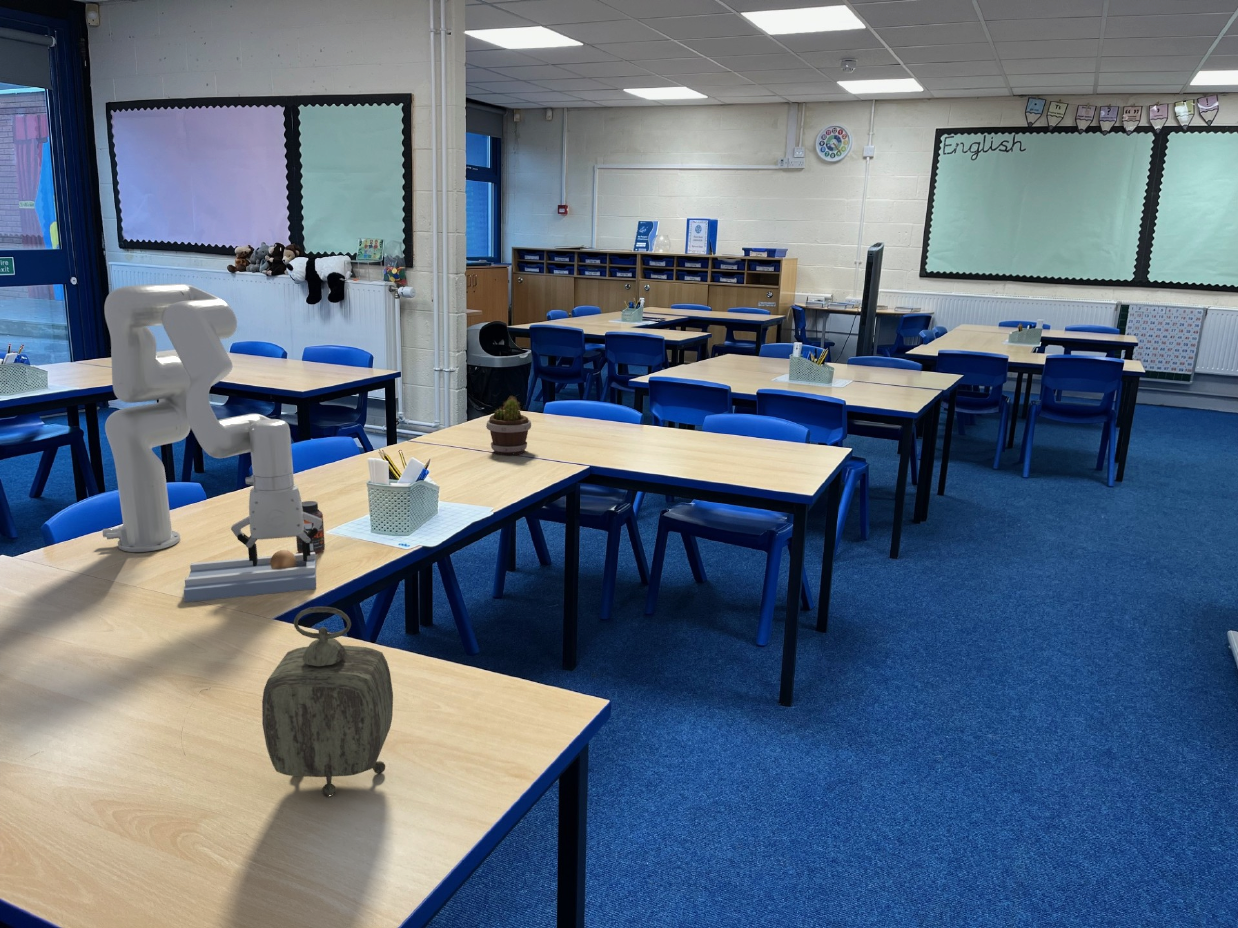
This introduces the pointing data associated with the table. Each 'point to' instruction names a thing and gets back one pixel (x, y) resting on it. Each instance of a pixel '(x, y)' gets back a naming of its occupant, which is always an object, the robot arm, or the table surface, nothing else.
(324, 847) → the table surface
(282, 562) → the ball
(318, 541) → the supplement bottle
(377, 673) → the tabletop clock
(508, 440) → the flowerpot
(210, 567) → the track
